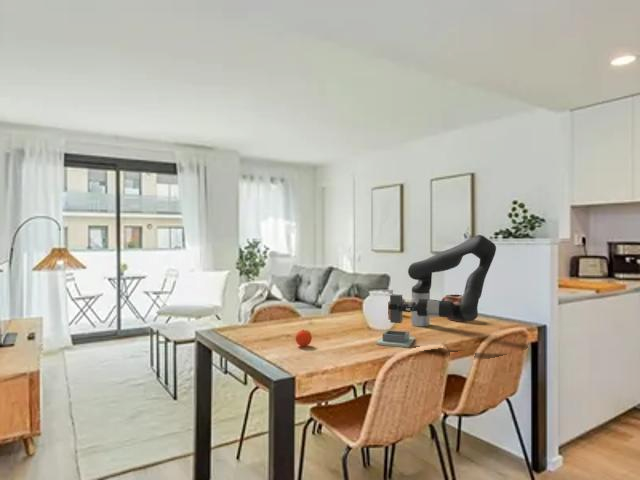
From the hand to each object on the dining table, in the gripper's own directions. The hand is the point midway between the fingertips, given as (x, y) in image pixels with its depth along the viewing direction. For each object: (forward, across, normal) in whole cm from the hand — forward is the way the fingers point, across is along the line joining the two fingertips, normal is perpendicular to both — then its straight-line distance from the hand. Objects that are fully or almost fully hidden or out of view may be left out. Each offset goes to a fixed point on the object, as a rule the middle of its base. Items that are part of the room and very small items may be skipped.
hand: (390, 305), depth 205 cm
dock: (-3, 0, +16) cm, 16 cm away
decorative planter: (-22, -65, +16) cm, 70 cm away
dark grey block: (-3, 0, +7) cm, 8 cm away
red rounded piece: (+33, +22, +16) cm, 42 cm away
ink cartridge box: (+18, -67, +16) cm, 71 cm away
